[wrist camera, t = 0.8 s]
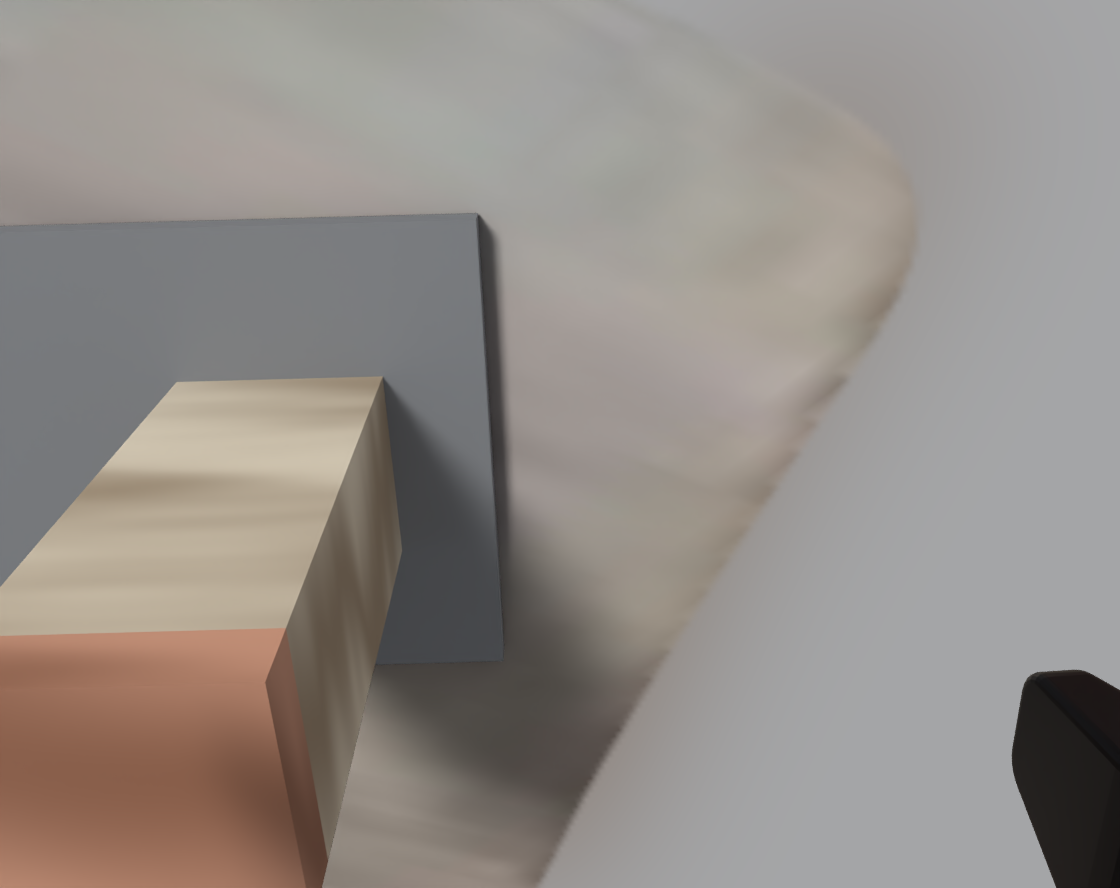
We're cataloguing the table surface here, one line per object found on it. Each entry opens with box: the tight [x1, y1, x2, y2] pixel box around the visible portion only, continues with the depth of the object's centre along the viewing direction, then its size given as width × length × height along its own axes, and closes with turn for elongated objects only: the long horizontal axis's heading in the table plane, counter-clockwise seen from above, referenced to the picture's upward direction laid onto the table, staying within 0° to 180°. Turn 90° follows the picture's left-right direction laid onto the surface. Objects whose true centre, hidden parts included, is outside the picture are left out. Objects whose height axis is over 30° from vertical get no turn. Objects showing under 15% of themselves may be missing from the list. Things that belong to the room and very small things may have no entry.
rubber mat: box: [0, 213, 504, 665], centre depth 20 cm, size 10×18×1 cm, turn 91°
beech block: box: [0, 376, 402, 888], centre depth 16 cm, size 4×4×9 cm
